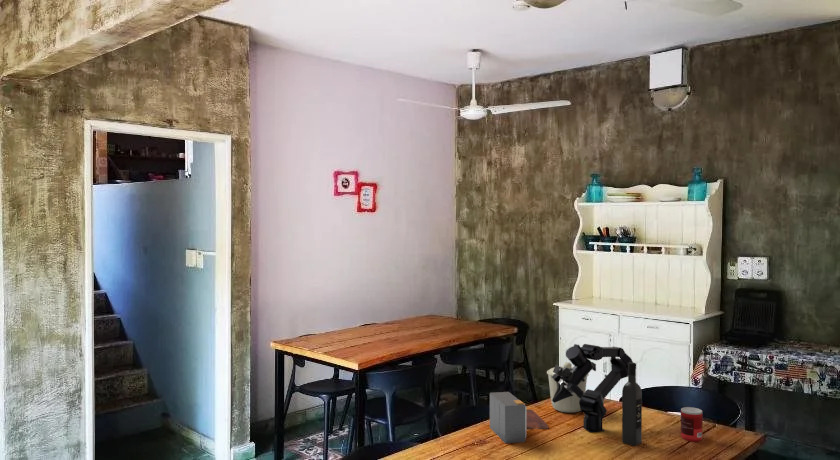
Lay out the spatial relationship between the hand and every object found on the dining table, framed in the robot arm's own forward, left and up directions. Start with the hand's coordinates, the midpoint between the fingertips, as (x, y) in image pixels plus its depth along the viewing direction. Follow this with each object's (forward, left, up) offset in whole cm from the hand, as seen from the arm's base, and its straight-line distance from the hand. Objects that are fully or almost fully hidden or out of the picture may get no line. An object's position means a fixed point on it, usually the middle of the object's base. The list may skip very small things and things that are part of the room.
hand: (553, 401), depth 243 cm
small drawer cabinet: (+17, -4, -13) cm, 22 cm away
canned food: (-51, +14, -13) cm, 54 cm away
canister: (-20, -31, -13) cm, 39 cm away
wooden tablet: (+1, -21, -14) cm, 25 cm away
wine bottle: (-26, +14, -13) cm, 32 cm away
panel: (+17, +2, -12) cm, 21 cm away
